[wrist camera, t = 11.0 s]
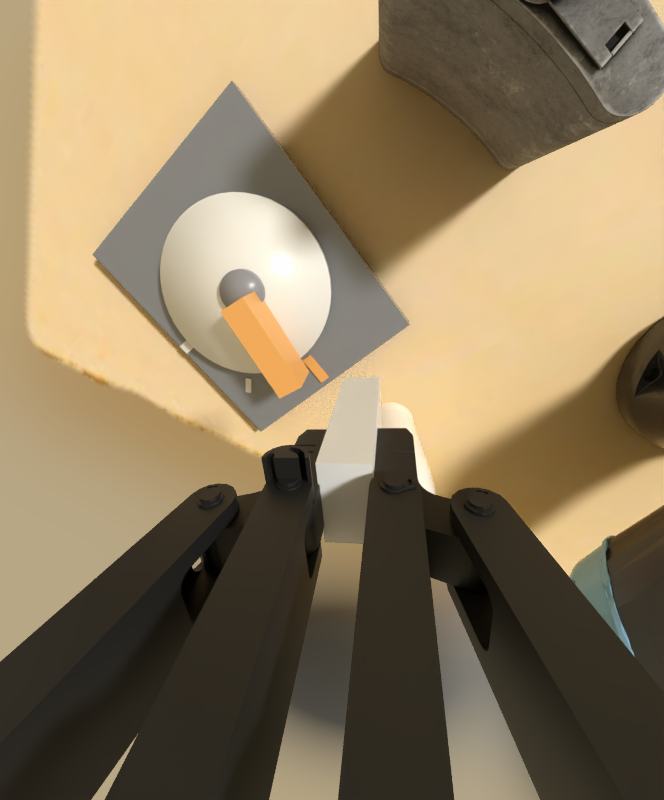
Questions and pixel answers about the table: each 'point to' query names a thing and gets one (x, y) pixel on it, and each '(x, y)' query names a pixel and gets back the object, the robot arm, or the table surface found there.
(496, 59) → the flask
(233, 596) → the robot arm
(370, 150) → the table surface
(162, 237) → the dial housing
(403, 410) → the drinking glass
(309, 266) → the dial
